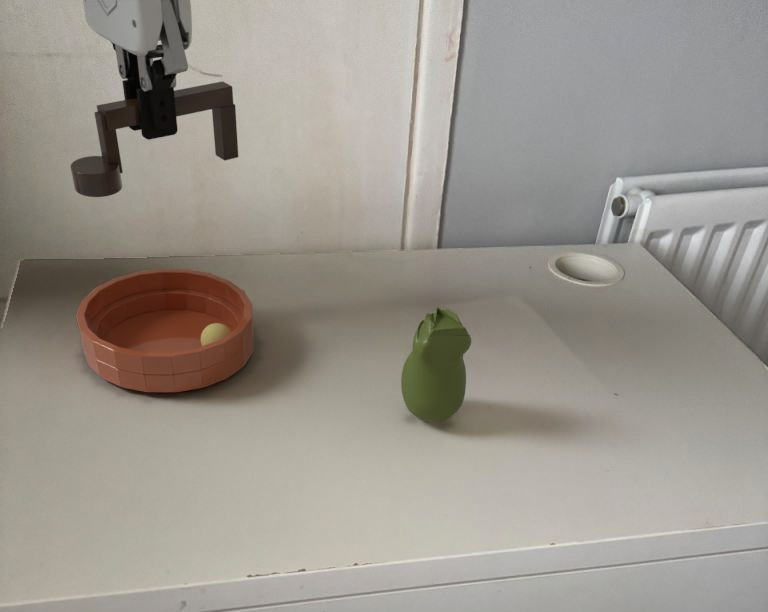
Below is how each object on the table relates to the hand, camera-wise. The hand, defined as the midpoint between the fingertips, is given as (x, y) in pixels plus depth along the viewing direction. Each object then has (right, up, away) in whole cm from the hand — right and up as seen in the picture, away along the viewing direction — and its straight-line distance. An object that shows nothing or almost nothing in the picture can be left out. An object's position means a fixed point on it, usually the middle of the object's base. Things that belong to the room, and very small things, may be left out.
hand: (153, 130), depth 73 cm
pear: (+25, -25, 0) cm, 35 cm away
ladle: (0, -3, +3) cm, 4 cm away
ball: (+5, -18, +3) cm, 19 cm away
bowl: (0, -18, +5) cm, 19 cm away
